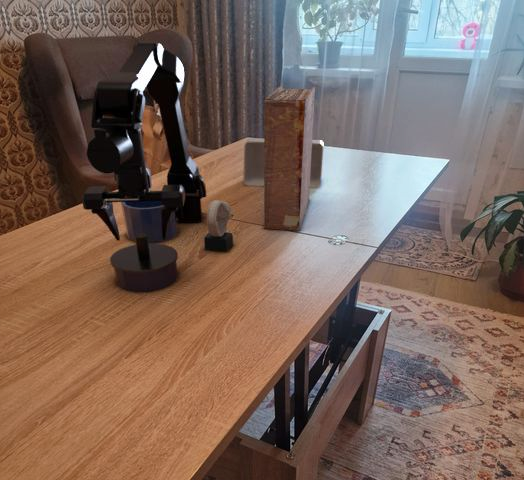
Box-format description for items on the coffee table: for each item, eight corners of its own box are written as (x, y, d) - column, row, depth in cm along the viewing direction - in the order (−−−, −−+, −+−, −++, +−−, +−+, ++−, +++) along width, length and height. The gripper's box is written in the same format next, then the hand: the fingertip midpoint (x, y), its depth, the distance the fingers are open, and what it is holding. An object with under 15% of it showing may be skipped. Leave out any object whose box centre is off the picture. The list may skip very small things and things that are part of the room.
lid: (180, 247, 106) (177, 222, 103) (175, 274, 95) (172, 248, 91) (117, 248, 105) (112, 224, 102) (104, 277, 94) (99, 250, 91)
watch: (235, 242, 118) (233, 197, 111) (224, 255, 111) (221, 208, 105) (213, 239, 119) (211, 195, 113) (201, 252, 113) (198, 206, 106)
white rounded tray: (321, 174, 166) (324, 135, 159) (320, 188, 153) (323, 146, 146) (250, 172, 169) (249, 133, 162) (243, 185, 156) (242, 144, 149)
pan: (179, 264, 108) (177, 245, 105) (174, 290, 97) (172, 270, 95) (122, 265, 107) (119, 247, 104) (111, 292, 97) (107, 272, 94)
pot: (179, 223, 128) (176, 191, 123) (175, 242, 118) (171, 208, 113) (131, 225, 127) (126, 192, 122) (123, 243, 117) (117, 209, 112)
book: (278, 198, 145) (280, 85, 127) (309, 200, 143) (315, 86, 126) (264, 229, 124) (263, 100, 107) (299, 231, 123) (305, 101, 106)
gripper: (183, 147, 95) (190, 223, 104) (87, 149, 94) (103, 225, 103) (178, 161, 86) (186, 244, 95) (72, 164, 85) (91, 246, 94)
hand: (141, 239), depth 97 cm, fingers open, 9 cm apart
